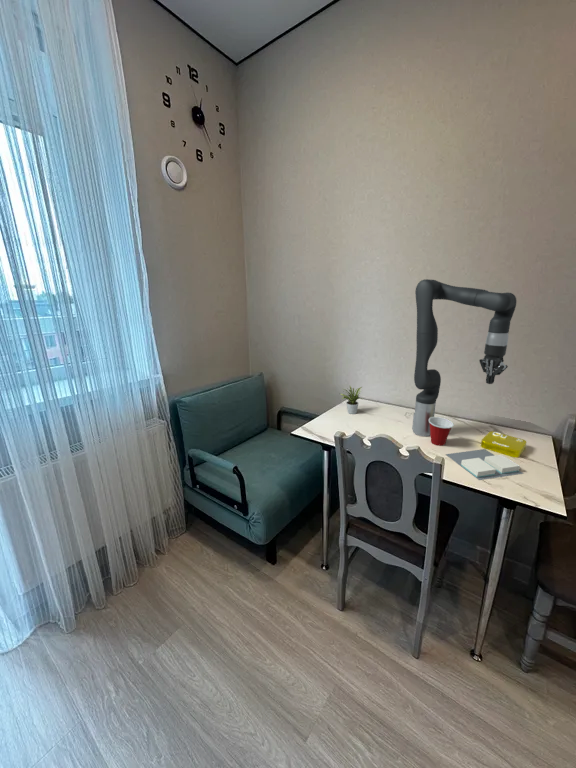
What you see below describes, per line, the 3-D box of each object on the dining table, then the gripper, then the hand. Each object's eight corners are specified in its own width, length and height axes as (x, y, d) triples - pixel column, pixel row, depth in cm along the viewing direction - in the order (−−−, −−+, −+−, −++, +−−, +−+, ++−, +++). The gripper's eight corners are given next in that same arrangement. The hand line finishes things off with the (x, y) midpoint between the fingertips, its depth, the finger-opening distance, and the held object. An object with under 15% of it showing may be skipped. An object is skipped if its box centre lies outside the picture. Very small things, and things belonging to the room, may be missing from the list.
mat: (445, 455, 141) (445, 454, 141) (484, 450, 145) (484, 448, 144) (478, 481, 123) (479, 480, 122) (523, 475, 126) (523, 473, 126)
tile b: (485, 456, 133) (502, 468, 125) (501, 454, 135) (520, 465, 126) (484, 462, 134) (501, 473, 126) (500, 459, 136) (518, 471, 127)
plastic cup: (443, 452, 144) (446, 428, 140) (421, 443, 152) (423, 420, 149) (455, 445, 150) (458, 421, 147) (433, 437, 158) (436, 414, 155)
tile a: (461, 460, 132) (477, 472, 123) (478, 457, 133) (495, 469, 124) (461, 465, 132) (477, 477, 124) (477, 462, 134) (494, 474, 125)
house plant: (351, 405, 202) (352, 381, 197) (369, 411, 192) (370, 386, 187) (336, 411, 193) (336, 386, 188) (354, 418, 183) (355, 391, 178)
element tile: (478, 449, 147) (480, 439, 145) (488, 438, 156) (490, 429, 155) (517, 461, 136) (519, 451, 135) (525, 448, 146) (527, 439, 145)
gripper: (476, 341, 136) (470, 379, 141) (501, 346, 123) (494, 389, 129) (491, 340, 137) (485, 378, 142) (518, 345, 125) (510, 387, 130)
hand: (489, 383), depth 135 cm, fingers closed
